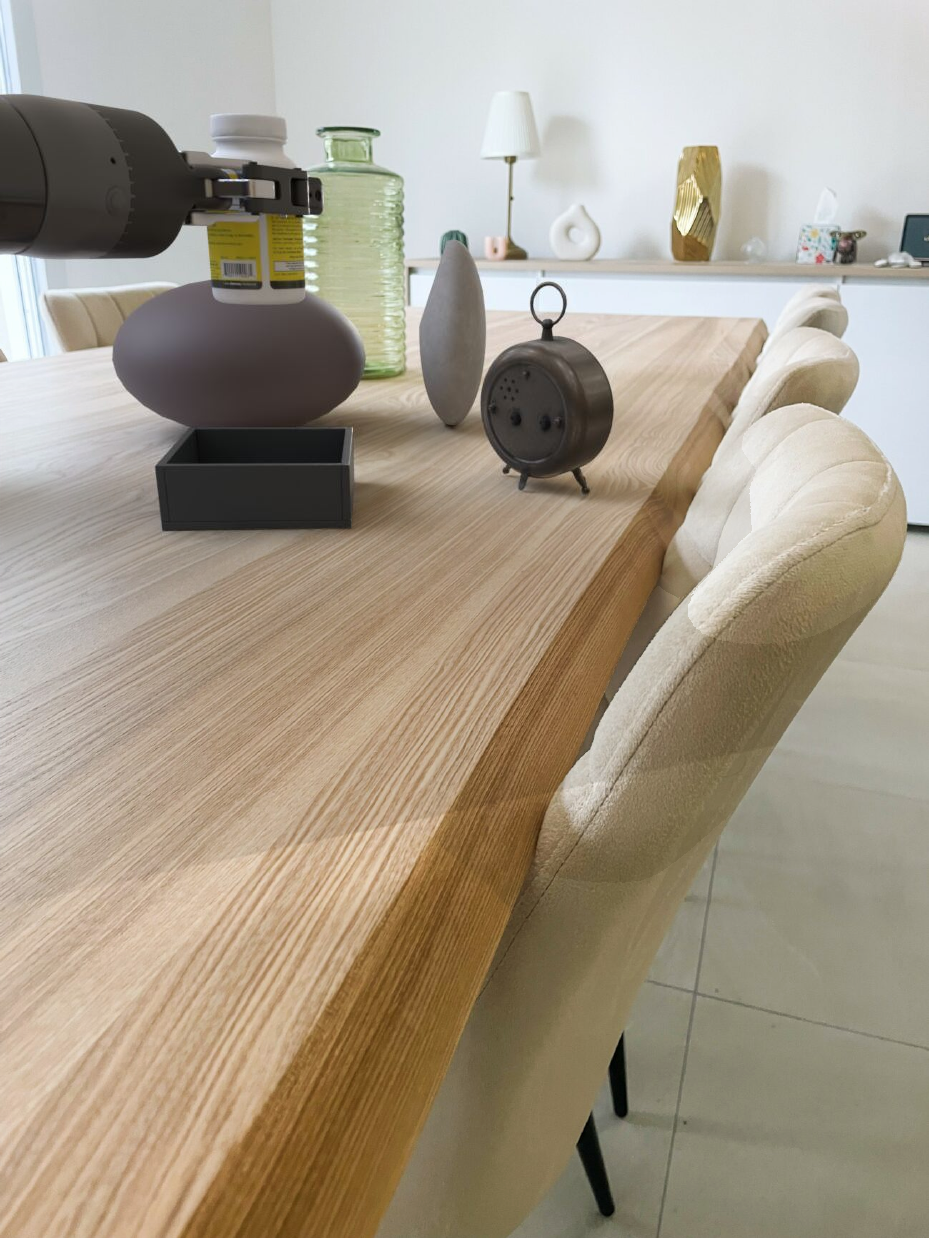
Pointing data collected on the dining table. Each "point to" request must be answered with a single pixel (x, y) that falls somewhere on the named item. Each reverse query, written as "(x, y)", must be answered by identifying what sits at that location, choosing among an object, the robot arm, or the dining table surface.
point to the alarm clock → (547, 405)
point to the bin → (258, 479)
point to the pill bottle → (271, 247)
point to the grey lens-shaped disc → (453, 335)
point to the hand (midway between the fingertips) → (276, 196)
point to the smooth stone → (237, 359)
